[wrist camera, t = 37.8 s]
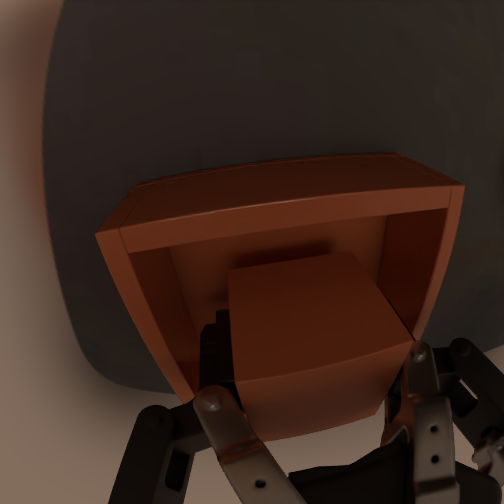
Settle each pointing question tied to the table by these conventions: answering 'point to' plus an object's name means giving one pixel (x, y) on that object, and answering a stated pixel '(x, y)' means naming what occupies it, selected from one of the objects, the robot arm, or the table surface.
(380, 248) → the terracotta bin
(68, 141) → the table surface
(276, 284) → the block
